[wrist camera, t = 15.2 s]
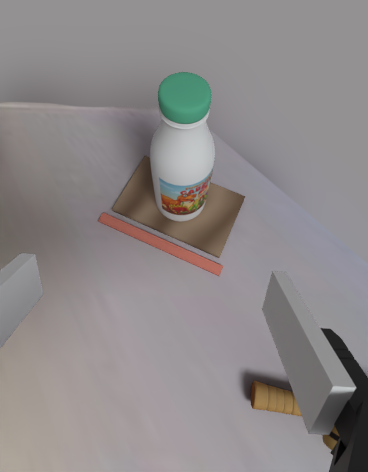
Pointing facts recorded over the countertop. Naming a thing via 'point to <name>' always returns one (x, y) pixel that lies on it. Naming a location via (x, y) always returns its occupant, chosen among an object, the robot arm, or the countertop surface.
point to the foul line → (161, 244)
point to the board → (190, 232)
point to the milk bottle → (182, 147)
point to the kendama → (282, 405)
